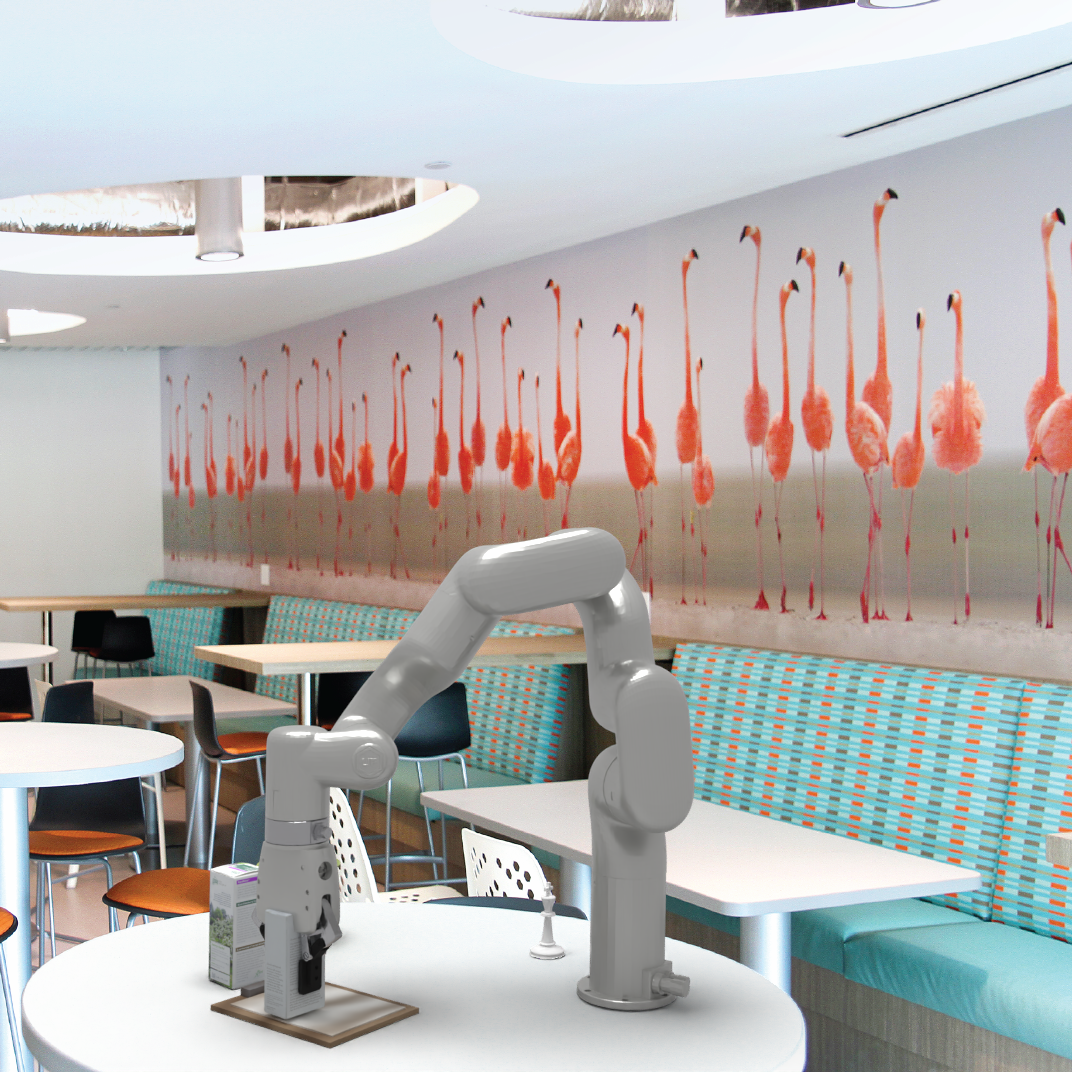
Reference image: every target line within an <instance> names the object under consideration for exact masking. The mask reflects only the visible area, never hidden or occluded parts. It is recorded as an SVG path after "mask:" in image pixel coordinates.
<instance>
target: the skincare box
mask: <svg viewBox="0 0 1072 1072" xmlns="http://www.w3.org/2000/svg"><path fill="white" fill-rule="evenodd" d="M323 929H324V928H323ZM324 933H325V931H324ZM310 938H311V945H312V944H313V943H314V942H315V939H314V936H312V937H310ZM301 959H303V956H302V949H301V942H300V934H299V933H297V932H295V931H294V925H293V915H292V914H289V913H285V912H280V911H276V910H272V909H268V910H265V988H264V1011H265V1012H266V1013H269V1014H272V1015H275V1016H278V1017H280V1018H283V1019H289V1018H292V1017H295V1016H298V1015H301V1014H303V1013H306V1012H309V1011H312V1010H315V1009H318V1008H321V1007H324V1006H325V982H326V955H325V956H322V986H321V989H320V990H317V991H314V992H311V993H308V994H306V995H301V994H299V992H298V965H299V960H301Z"/></svg>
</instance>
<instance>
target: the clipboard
mask: <svg viewBox="0 0 1072 1072" xmlns="http://www.w3.org/2000/svg"><path fill="white" fill-rule="evenodd" d="M264 988H265V980H263V981H260V982H256V983H253V984H250V985H247V986H244V987H241V988H240V994H239V995H236V996H234V997H231V998H228V999H224V1000H221V1001H218V1002H215V1003H211V1004H210V1011H213V1012H217V1013H220V1014H222V1015H225V1014H226V1015H225V1016H228V1015H229V1016H228V1017H231V1018H234V1017H235V1019H237V1018H239V1019H238V1020H241V1019H242V1020H241V1021H244V1020H245V1021H244V1022H248V1023H250V1022H251V1024H253V1023H255V1024H254V1025H256V1024H258V1025H257V1026H260V1027H262V1026H263V1027H262V1028H265V1027H266V1029H269V1030H272V1031H275V1032H278V1033H281V1034H285V1035H288V1036H291V1037H293V1038H294V1037H295V1038H297V1039H300V1040H303V1041H306V1042H309V1043H313V1044H316V1045H318V1046H319V1045H320V1046H322V1047H325V1048H328V1049H332V1048H334V1047H336V1046H339V1045H341V1043H342V1044H344V1043H346V1042H349V1041H352V1040H355V1039H356V1038H359V1037H362V1036H364V1035H367V1034H369V1033H371V1032H374V1031H376V1030H378V1029H382V1028H384V1027H387V1026H390V1025H392V1024H394V1023H397V1022H399V1021H401V1020H404V1019H407V1018H410V1017H412V1016H415V1015H417V1014H419V1013H420V1008H419V1007H417V1006H414V1005H410V1004H407V1003H403V1002H399V1001H397V1000H392V999H390V998H385V997H382V996H378V995H374V994H371V993H368V992H363V991H360V990H357V989H354V988H350V987H346V986H343V985H340V984H337V983H336V984H335V983H332V982H329V981H325V1006H324V1007H321V1008H318V1009H315V1010H312V1011H309V1012H306V1013H303V1014H301V1015H298V1016H295V1017H292V1018H289V1019H283V1018H280V1017H278V1016H275V1015H272V1014H269V1013H266V1012H265V1011H264Z"/></svg>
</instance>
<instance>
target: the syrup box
mask: <svg viewBox="0 0 1072 1072" xmlns="http://www.w3.org/2000/svg"><path fill="white" fill-rule="evenodd" d="M258 868H259V866H256V865H255V864H252V863H249V862H235V863H230V864H229V863H228V864H224V865H220V866H216V867H214V868H210V872H209V919H208V920H209V923H208V924H209V925H208V928H209V929H208V981H210V982H211V981H212V982H214V983H216V984H219V985H221V986H224V987H225V988H229V989H231V990H236V989H237V990H238V989H241V987H244V986H247V985H250V984H253V983H256V982H260V981H263V980H265V947H264V943H265V940H264V938H263V937H262V935H261V933H260V928H258V927H257V925H256V924H255V923H254V921H253V920H252V918H251V914H252V912H253V911H254V909H255V907H256V893H257V877H258Z"/></svg>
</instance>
